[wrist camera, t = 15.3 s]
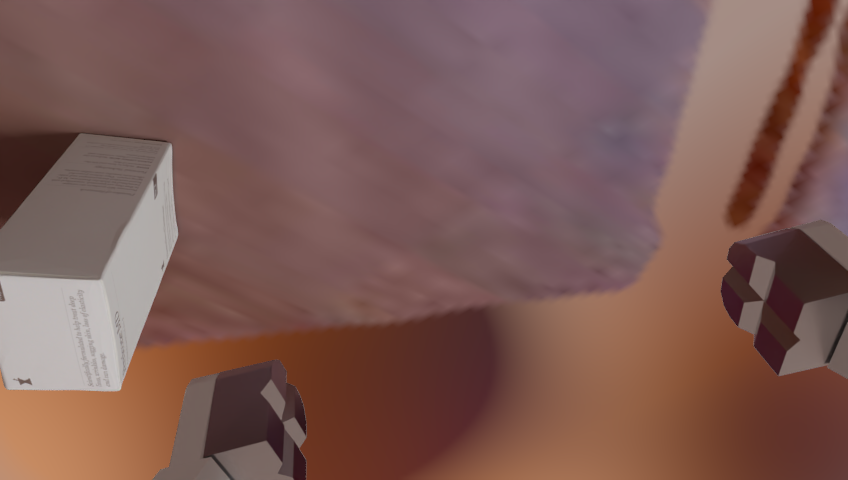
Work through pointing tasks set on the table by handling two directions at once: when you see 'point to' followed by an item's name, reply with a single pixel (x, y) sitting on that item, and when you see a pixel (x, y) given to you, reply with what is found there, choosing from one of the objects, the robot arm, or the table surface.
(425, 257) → the table surface
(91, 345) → the skincare box
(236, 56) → the table surface
